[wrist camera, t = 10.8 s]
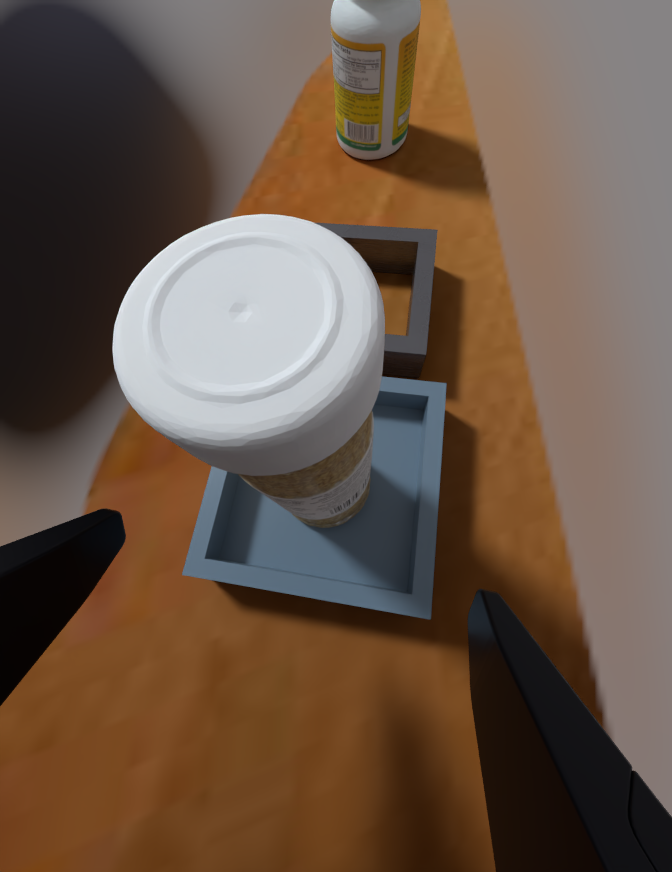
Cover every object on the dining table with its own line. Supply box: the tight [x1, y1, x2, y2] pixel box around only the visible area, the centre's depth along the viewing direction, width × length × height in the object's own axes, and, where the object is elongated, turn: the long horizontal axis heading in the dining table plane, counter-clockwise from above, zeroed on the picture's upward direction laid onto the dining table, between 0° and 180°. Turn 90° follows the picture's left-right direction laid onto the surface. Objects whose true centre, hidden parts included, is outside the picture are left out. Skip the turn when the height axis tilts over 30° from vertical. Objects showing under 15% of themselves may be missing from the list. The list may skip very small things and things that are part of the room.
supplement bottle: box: [331, 0, 421, 160], centre depth 23 cm, size 5×5×10 cm
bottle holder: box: [315, 223, 437, 378], centre depth 21 cm, size 8×8×2 cm
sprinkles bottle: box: [113, 214, 385, 528], centre depth 12 cm, size 5×5×13 cm
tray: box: [182, 377, 447, 620], centre depth 18 cm, size 11×11×2 cm
